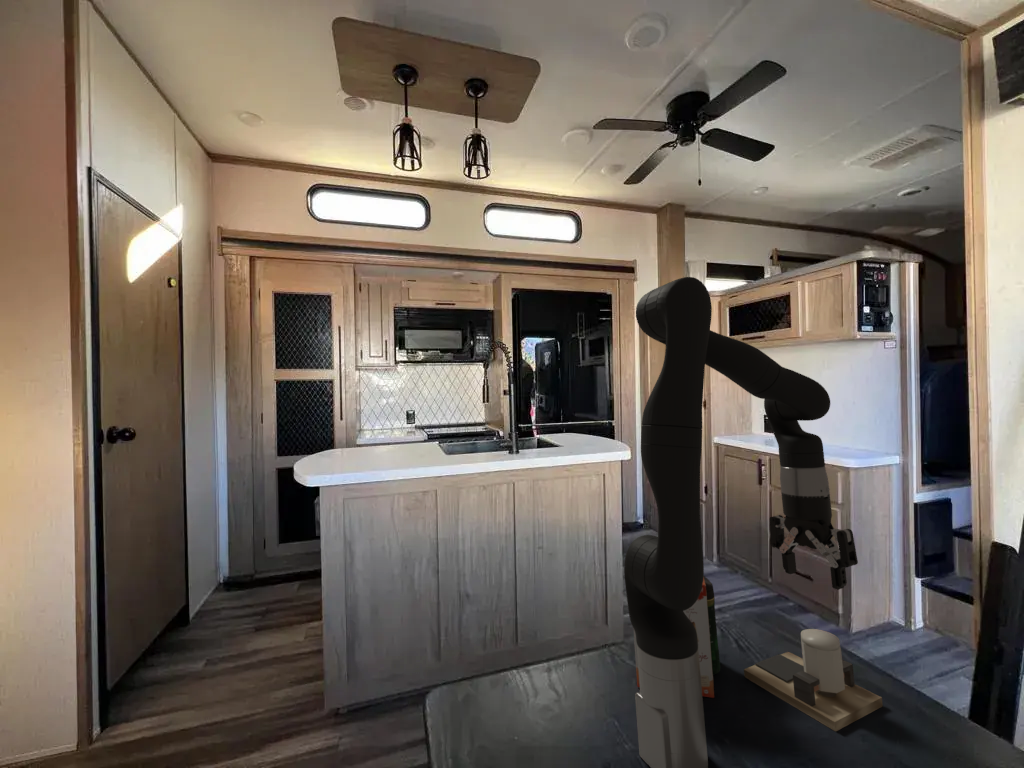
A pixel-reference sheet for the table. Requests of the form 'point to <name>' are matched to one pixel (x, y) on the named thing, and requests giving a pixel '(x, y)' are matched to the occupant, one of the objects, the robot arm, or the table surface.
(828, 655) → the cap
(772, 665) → the mat
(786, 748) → the table surface
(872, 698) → the bulb mounting plate
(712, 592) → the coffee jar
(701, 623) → the cracker box
